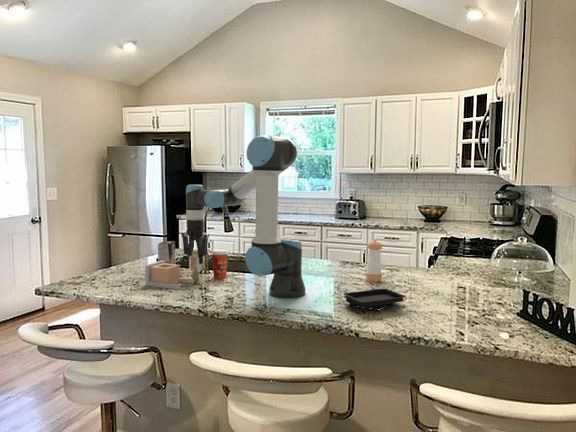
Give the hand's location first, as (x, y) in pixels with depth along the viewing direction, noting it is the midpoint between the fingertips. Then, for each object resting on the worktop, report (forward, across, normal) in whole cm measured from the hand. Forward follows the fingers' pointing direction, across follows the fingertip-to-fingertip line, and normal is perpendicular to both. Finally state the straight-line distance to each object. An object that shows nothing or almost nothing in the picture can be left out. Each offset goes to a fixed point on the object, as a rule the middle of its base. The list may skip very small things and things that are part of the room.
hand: (195, 270), depth 214 cm
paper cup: (+6, -7, -10) cm, 14 cm away
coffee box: (+6, +22, -9) cm, 25 cm away
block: (+5, +9, +10) cm, 14 cm away
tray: (+6, -83, +3) cm, 83 cm away
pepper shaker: (+6, -74, -38) cm, 83 cm away
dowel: (+5, 0, 0) cm, 5 cm away
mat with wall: (+6, +6, +6) cm, 11 cm away
